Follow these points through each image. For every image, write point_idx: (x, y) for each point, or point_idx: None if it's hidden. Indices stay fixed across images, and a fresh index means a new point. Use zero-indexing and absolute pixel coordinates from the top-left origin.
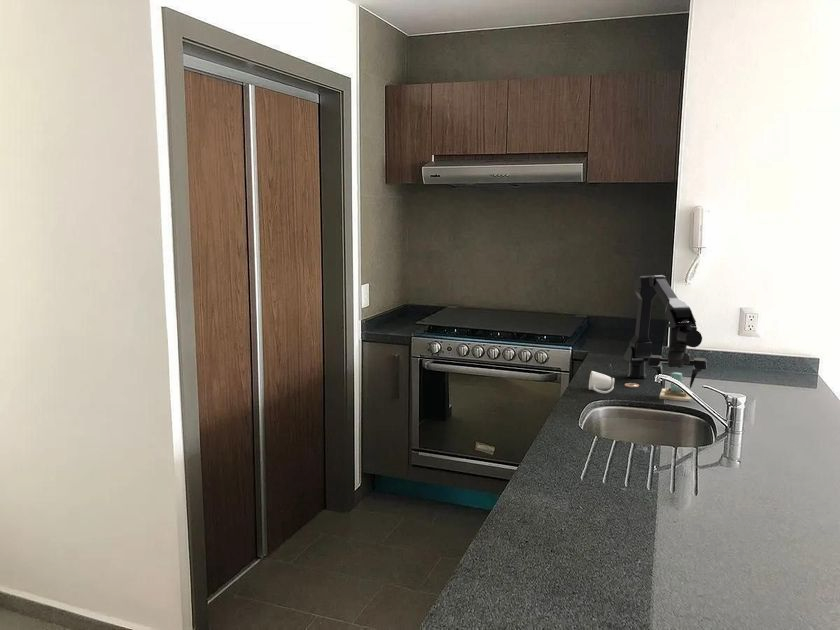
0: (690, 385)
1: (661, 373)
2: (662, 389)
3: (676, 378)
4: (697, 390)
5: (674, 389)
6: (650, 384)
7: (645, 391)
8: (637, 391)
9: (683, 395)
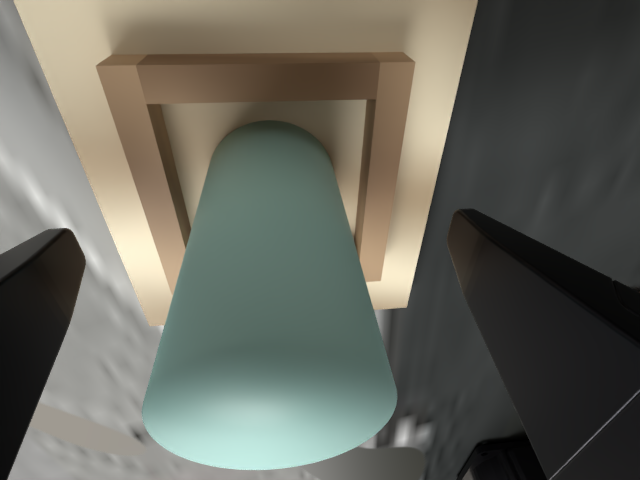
0: (36, 244)
1: (631, 334)
2: (408, 277)
3: (259, 270)
4: (147, 376)
5: (286, 151)
6: (463, 385)
7: (551, 222)
8: (628, 198)
9: (142, 59)
